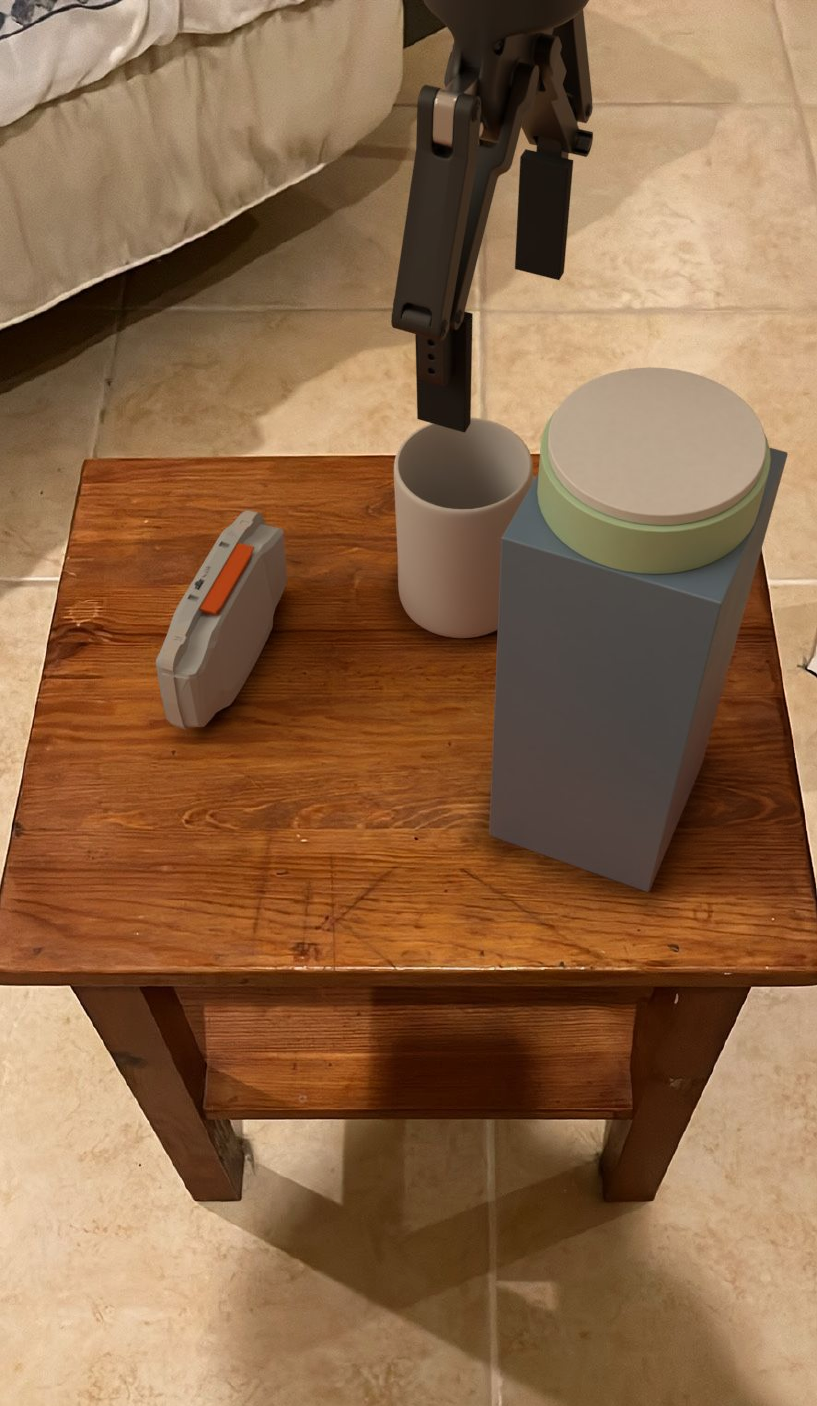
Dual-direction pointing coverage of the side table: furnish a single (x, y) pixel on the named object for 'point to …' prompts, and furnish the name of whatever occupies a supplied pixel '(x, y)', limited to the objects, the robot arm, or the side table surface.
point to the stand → (608, 693)
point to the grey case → (222, 622)
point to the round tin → (652, 470)
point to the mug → (456, 522)
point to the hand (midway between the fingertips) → (493, 343)
